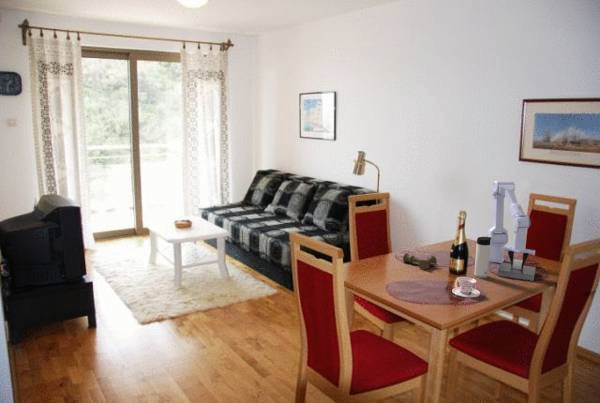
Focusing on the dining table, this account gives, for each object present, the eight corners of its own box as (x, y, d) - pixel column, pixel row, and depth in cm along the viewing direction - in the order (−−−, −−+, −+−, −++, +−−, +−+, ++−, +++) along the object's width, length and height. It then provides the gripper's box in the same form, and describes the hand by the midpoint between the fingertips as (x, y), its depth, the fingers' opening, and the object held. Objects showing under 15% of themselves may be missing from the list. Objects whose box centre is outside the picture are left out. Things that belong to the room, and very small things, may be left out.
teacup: (446, 292, 220) (447, 279, 218) (460, 286, 228) (461, 273, 227) (472, 300, 211) (473, 286, 210) (485, 293, 219) (486, 280, 218)
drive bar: (511, 274, 244) (513, 261, 242) (512, 272, 247) (513, 259, 246) (520, 276, 242) (521, 262, 240) (521, 273, 245) (522, 260, 244)
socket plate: (497, 275, 242) (498, 270, 241) (500, 267, 254) (501, 262, 253) (533, 281, 234) (533, 275, 234) (534, 272, 247) (535, 267, 246)
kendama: (409, 260, 267) (443, 268, 252) (399, 265, 260) (433, 273, 246) (409, 250, 265) (443, 257, 251) (399, 254, 259) (433, 261, 245)
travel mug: (489, 279, 237) (492, 239, 233) (475, 278, 238) (478, 238, 235) (487, 274, 243) (490, 235, 239) (473, 273, 244) (476, 235, 241)
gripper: (503, 240, 241) (500, 266, 243) (535, 244, 234) (532, 271, 237) (504, 237, 247) (502, 262, 249) (536, 240, 240) (533, 267, 243)
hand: (517, 266), depth 243 cm, fingers closed on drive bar, 4 cm apart
